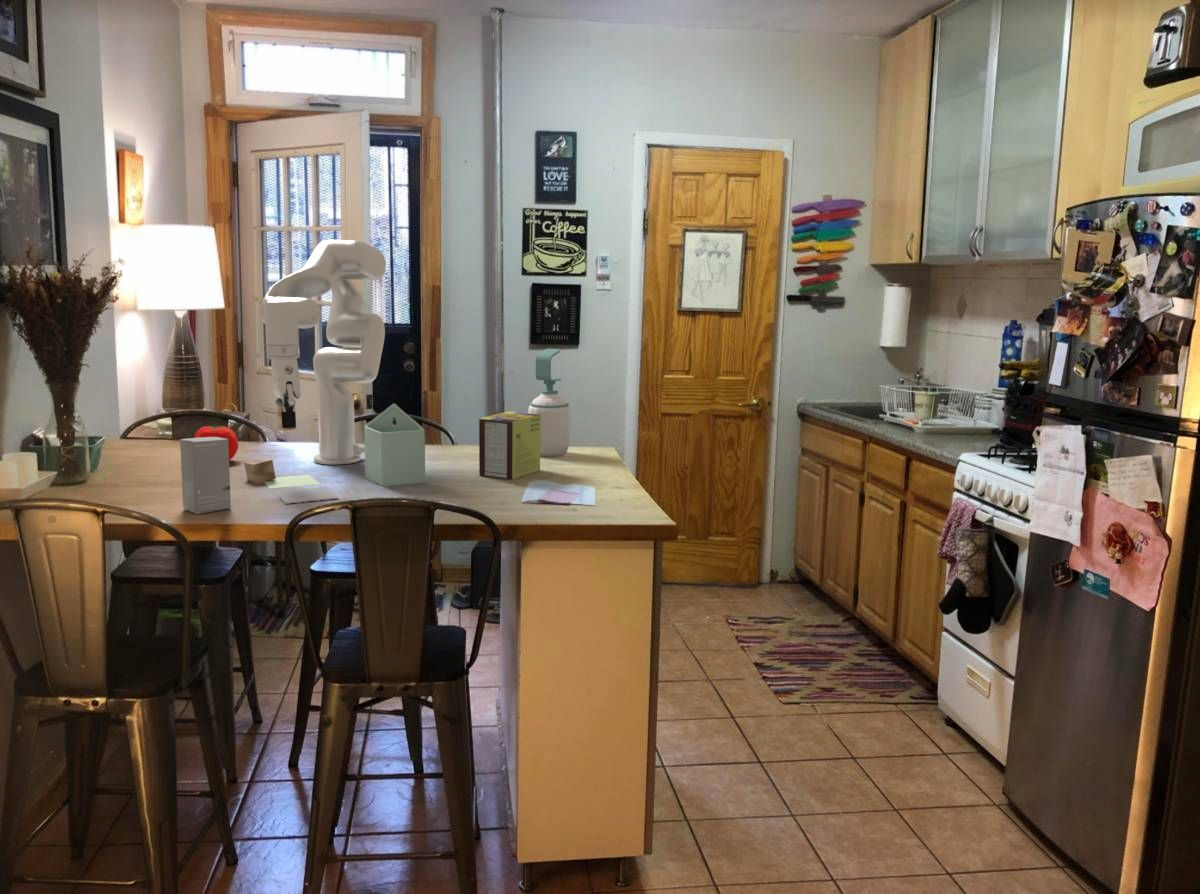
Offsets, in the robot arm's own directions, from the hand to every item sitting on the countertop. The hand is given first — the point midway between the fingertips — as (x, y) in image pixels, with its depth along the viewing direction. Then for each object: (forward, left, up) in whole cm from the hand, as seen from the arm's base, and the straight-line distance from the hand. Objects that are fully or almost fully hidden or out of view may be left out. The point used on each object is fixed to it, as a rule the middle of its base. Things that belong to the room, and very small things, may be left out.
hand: (286, 425), depth 232 cm
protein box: (-55, +11, -15) cm, 58 cm away
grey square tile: (0, +16, -15) cm, 21 cm away
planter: (-22, +10, -15) cm, 29 cm away
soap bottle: (-77, -9, -15) cm, 79 cm away
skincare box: (+22, +19, -15) cm, 32 cm away
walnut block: (+6, -4, -14) cm, 16 cm away
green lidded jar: (0, 0, -1) cm, 1 cm away
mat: (0, 0, -15) cm, 15 cm away
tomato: (+12, -34, -15) cm, 39 cm away
